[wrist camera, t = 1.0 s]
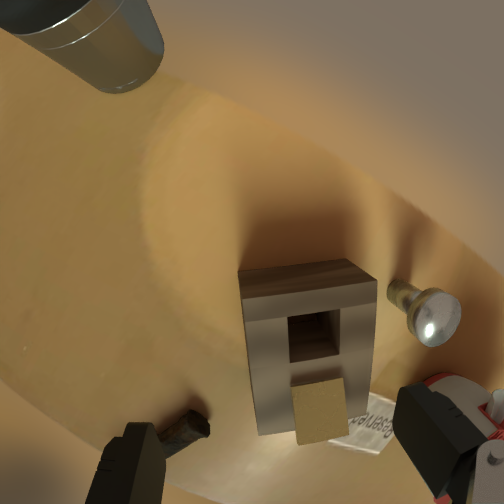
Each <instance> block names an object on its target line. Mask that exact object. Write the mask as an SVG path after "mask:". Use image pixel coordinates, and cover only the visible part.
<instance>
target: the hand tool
mask: <svg viewBox="0 0 504 504" xmlns="http://www.w3.org/2000/svg"><path fill="white" fill-rule="evenodd" d="M209 435H210V424H209V423H208V421H207V419H206V418H204V417H203V416H202V415H201V414H199V413H198V412H196V411H194V410H189V411H188V413H187V415H185V416H182V418H181V419H180V421H179V422H177V423H176V424H175V425H173V426H171V427H170V428H169V429H167V430H166V431H165V432H164V433H162V434H160V435H158V439H159V441H160V444H161V447H162V449H163V452H164V455H165V459H167V458H169V457H171V456H172V455H174V454H176V453H177V452H179V451H180V450H182V449H184V448H185V447H187V446H188V445H190V444H191V443H193V442H195V441H197V440H198V439H200V438H204V437H206V438H207V437H208V436H209Z"/></svg>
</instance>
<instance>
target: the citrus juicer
mask: <svg viewBox="0 0 504 504" xmlns="http://www.w3.org/2000/svg"><path fill="white" fill-rule="evenodd" d="M423 383H424V384H425V385H426V386H427V387H428V388H429V389H430V390H431V391H432V392H434V391H437V392H439V393H441V394H443V395H445V396H447V397H449V398H450V399H451V401H452V402H453V403H454V404H455V405H456V406H457V408H459V409H460V410H461V411H462V412H463V415H466V416H467V417H468V418H469V419H470V420H471V422H472V423H473V424H474V425H475V426H476V427H477V428H478V429H479V430H480V431H481V432H482V433H483V434H484V435H485V436H486V438H487V439H488V440H495V439H498V440H504V389H497V390H495V391H493V392H492V394H491V393H489V392H488V391H487V390H486V389H484V388H483V387H482V386H481V385H479V384H477V383H475V382H473V381H471V380H469V379H466V378H464V377H462V376H460V375H457V374H452V373H439V374H437V375H434V376H432V377H430V378H428V379H427V380H425V381H424V382H423ZM412 463H413V462H412ZM414 466H415V465H414ZM417 471H418V470H417ZM419 474H420V473H419ZM421 477H422V476H421ZM422 479H423V478H422ZM424 482H425V481H424ZM426 485H427V484H426ZM427 487H428V486H427ZM428 488H429V487H428ZM429 490H430V489H429ZM431 493H432V492H431ZM432 495H433V494H432ZM433 496H434V495H433ZM450 499H451V498H450V497H449V495H448V494H447V495H445V496H443V497H441V498H439V499H436V498H435V497H434V502H435V503H436V504H448V503H449V501H450Z"/></svg>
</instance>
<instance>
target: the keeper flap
mask: <svg viewBox="0 0 504 504" xmlns="http://www.w3.org/2000/svg"><path fill="white" fill-rule="evenodd" d="M290 391H291V399H292V407H293V415H294V423H295V431H296V439H297V444H298V445H305V444H310V443H315V442H320V441H324V440H329V439H333V438H338V437H342V436H346V435H349V428H348V418H347V409H346V400H345V391H344V383H343V377H337V378H332V379H327V380H322V381H316V382H311V383H305V384H299V385H293V386H290Z"/></svg>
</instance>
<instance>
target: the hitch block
mask: <svg viewBox="0 0 504 504" xmlns="http://www.w3.org/2000/svg"><path fill="white" fill-rule="evenodd" d="M238 279H239V288H240V297H241V306H242V314H243V323H244V331H245V340H246V348H247V356H248V365H249V373H250V381H251V389H252V396H253V403H254V409H255V415H256V422H257V428H258V434H259V436H261V435H269V434H276V433H282V432H288V431H294V430H295V423H294V415H293V407H292V399H291V391H290V386H293V385H299V384H305V383H311V382H316V381H322V380H327V379H332V378H337V377H343V383H344V391H345V400H346V409H347V418H348V419H351V418H355V417H359V416H363V415H366V411H367V404H368V396H369V388H370V380H371V371H372V361H373V351H374V339H375V325H376V307H377V280H376V279H375V278H373V277H372V276H370V275H369V274H368V273H366V272H365V271H363V270H362V269H360V268H359V267H357V266H356V265H355V264H353V263H352V262H350V261H349V260H347V259H339V260H331V261H323V262H315V263H307V264H299V265H291V266H282V267H274V268H266V269H257V270H248V271H240V272H238ZM316 312H317V320H314V321H308V322H301V323H294V324H288V323H287V317H289V316H296V315H303V314H310V313H316Z"/></svg>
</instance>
